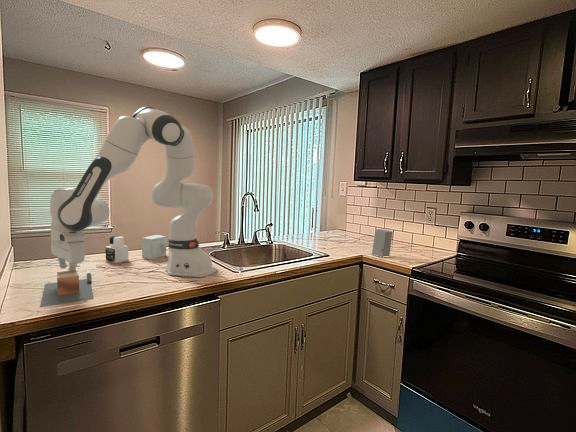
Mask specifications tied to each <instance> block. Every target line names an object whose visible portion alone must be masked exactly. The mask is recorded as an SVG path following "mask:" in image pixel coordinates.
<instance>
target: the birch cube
mask: <svg viewBox="0 0 576 432" xmlns="http://www.w3.org/2000/svg"><path fill="white" fill-rule="evenodd" d="M79 280H80V273H79V269H76V270H72V271H68V270H66V271H57V272H56V283H57V288H58V295H64V294H71V293H78V292H79Z"/></svg>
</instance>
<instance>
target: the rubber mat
mask: <svg viewBox="0 0 576 432" xmlns="http://www.w3.org/2000/svg"><path fill="white" fill-rule="evenodd" d="M92 286H93V285H92V282H90V283H88V282H87V278H82V279H79V292H78V293H71V294H64V295H58V288H57V282H49V283H44V287H43V292H42V295H41V296H42V297H41V301H40V305H39V308H43V307H50V306H58V305H65V304H70V303H71V304H72V303H77V302H83V301H84V302H85V301H90V300H94V299H95V298H94V293H93V287H92Z"/></svg>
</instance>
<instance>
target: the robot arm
mask: <svg viewBox="0 0 576 432" xmlns="http://www.w3.org/2000/svg"><path fill="white" fill-rule="evenodd" d="M148 140H153V141H155V142H157V143H159V144H161V145H164V146H165V147H164V148H165V157H166V158H165V159H166V164H165V165H166V167H165V168H166V170H165V174H164V176H163V178H162V179H161V180H159V182H158V183H156V184H155V185H154V186H153V188H152V189H151V193H150V195H151V200H152V202H153V203H154V204H155V205H156V206H158V207H164V208H173V209H174V208H178V209H179V208H180V209H184V211H183V213H181V214H179V215H177V216H175V217H173V218H172V219H171V220H170V222H169V238H168V243H167V244H168V256H167V257H168V258H167V264H166V267H165V272H167V275H169V276H178V277H180V276H182V277H197V278H203V277H207V276H211V275H212V274H215V273H216V272H217V271H218V267H217V266H214V265H213V262H212V258H211V256H210V254H208V253H206V251H204V249H202V248H201V247H200V245H199V244H201V240H197V238H196V231H197V223H198V219H199V216H200V215H201V213H203V211H204V210H206V208H208V207H210V205H211V204H212V203H213V200H214V194H213V190H212V188H211V187H210V186H209V185H205V184H201V183H194V182H193V183H191V182H189V183H188V182H182V181H183V180H185V179H188V178H189V177H191V176H192V175H193V174H194V172H195V170H196V164H195V147H194V146H195V145H194V141H193V136H192V132H191V130H190V129H189V128H187V127H186V126H183V125H182V124H181V123H180V122H179V120H178V119H177V118H175V117H174V116H173V115H170V114H169V113H167V112H166V111H163V110H159V109H157V108H155V107H152V106H144V107H141V108H139V109H138V110H137V111H136V112H134V113H133V114H132V115H130V116H129V115H122V116H120V117H119V118H118V119H117V120H116V121H115V123H114V124H113V125H112V126H111V128H110V130H109V131H108V134H107V136H106V137H105V139H104V141H103V144H102V146H101V147H100V150H98V151H99V152H97V155H96V156H95V158H94V159H93V161H92V162H91V163H90V165H89V166H88V167H87V169H86V171H85V172H84V173H83V176H82V177H81V179H80V181H79V182H78V184H77V186H76V188H73V187H72V188H71V187H70V188H60V189H59V188H58V189H55V190H54V191H53V192H52V193H51V195H50V200H49V211H50V212H49V213H50V216H51V222H50V239H51V242H50V243H51V245H50V248H51V249H50V251H51V252H50V253H51V254H52V255H53V256H56V257H57V261H58V263H59V265H58V266H59V268H60V269H62V270H63V269H66V268H68V270H67V271H72V270H77V265H78V264H82V263H83V262H84V261H85V257H86V256H85V255H86V243H85V241H86V240H87V234H86V233H85V232H84V231H83V230H85V229H87V228H90V227H93V226H96V225H99V224H102V223H103V222H105V221H107V219H108V218H109V216H110V208H109V205H108V204H107V202H105V201H104V200H103V199H100V198H99V199H98V196H99V194H100V193H101V191H102V189H103V186H104V185H105V184H106V183H107V182H108V181H109V180H111V179H112V178H113V177H115V176H117V175H120V174H122V173H124V172H127V171H128V170H129V169H130V168H131V167H132V166H133V164H134V163H135V162H136V160H137V158H138V156H139V153H140V152H141V151H140V150H141V149H142V146H143V145H144V144H145V143H146V142H147V141H148ZM67 262H68V265H69V266H68V265H67Z"/></svg>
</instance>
